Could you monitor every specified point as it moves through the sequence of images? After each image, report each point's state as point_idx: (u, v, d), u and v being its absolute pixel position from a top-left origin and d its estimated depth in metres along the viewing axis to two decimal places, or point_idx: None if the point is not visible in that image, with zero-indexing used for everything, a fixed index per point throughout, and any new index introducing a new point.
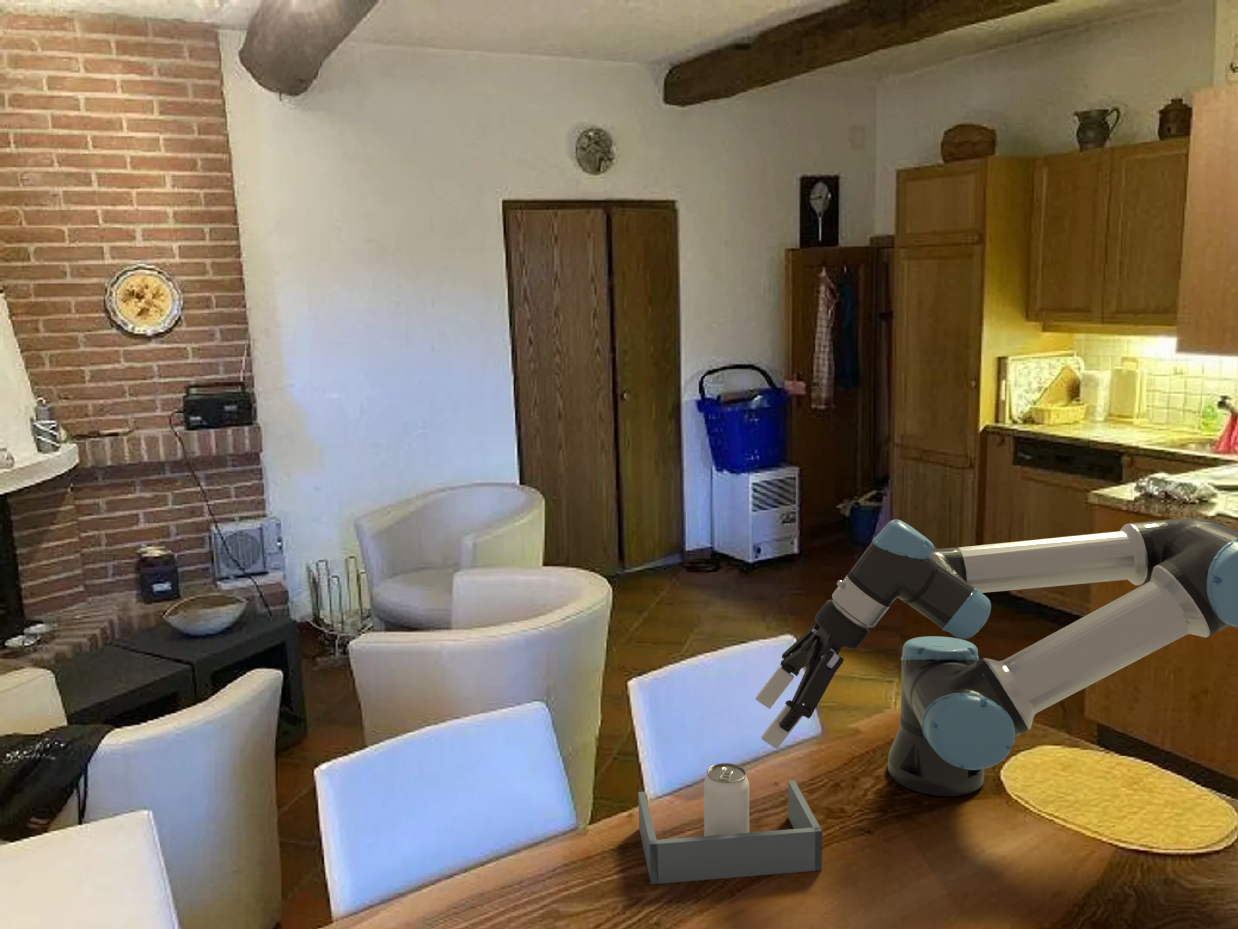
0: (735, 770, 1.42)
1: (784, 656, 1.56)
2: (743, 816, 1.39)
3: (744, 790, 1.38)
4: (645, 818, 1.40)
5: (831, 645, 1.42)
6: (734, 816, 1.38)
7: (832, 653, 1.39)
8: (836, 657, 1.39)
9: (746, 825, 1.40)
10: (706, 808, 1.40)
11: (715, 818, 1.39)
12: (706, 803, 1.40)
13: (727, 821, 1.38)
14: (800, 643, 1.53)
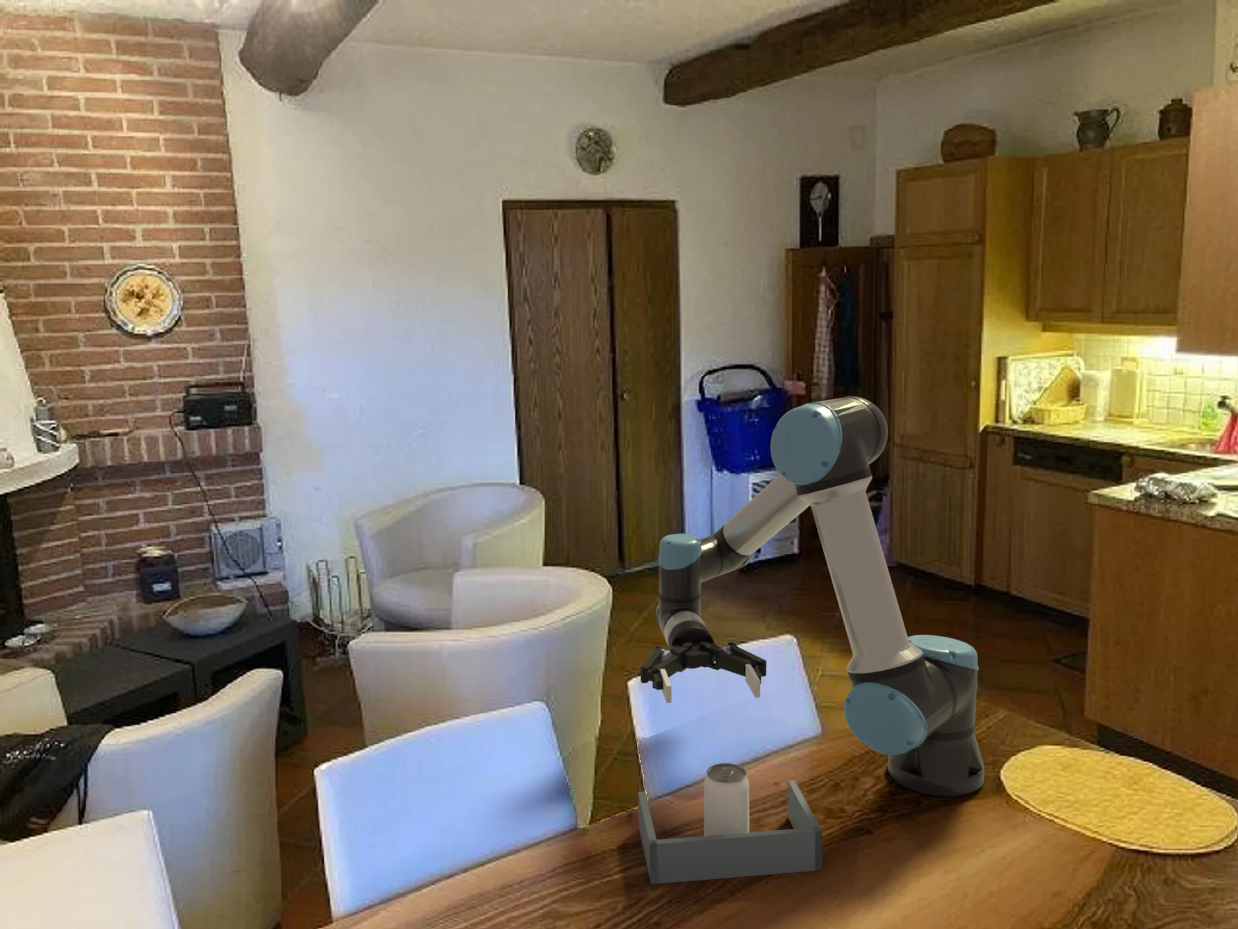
0: (735, 770, 1.42)
1: None
2: (743, 816, 1.39)
3: (744, 790, 1.38)
4: (645, 818, 1.40)
5: None
6: (734, 816, 1.38)
7: None
8: None
9: (746, 825, 1.40)
10: (706, 809, 1.40)
11: (715, 818, 1.39)
12: (706, 803, 1.40)
13: (727, 821, 1.38)
14: None
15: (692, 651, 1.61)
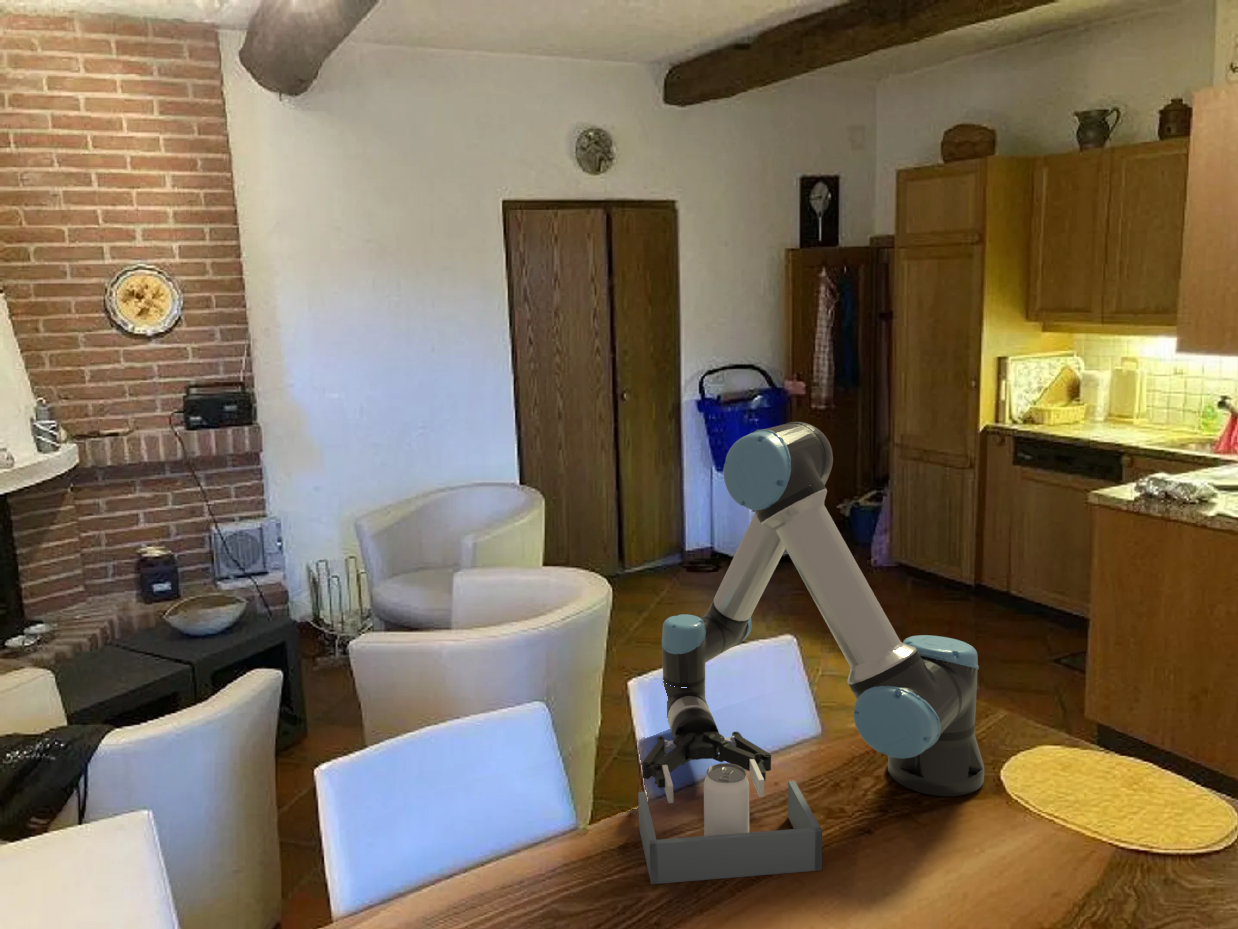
0: (735, 770, 1.42)
1: None
2: (743, 816, 1.39)
3: (744, 790, 1.38)
4: (645, 818, 1.40)
5: None
6: (734, 816, 1.38)
7: None
8: None
9: (746, 825, 1.40)
10: (706, 809, 1.40)
11: (715, 818, 1.39)
12: (706, 803, 1.40)
13: (727, 821, 1.38)
14: None
15: (695, 742, 1.58)
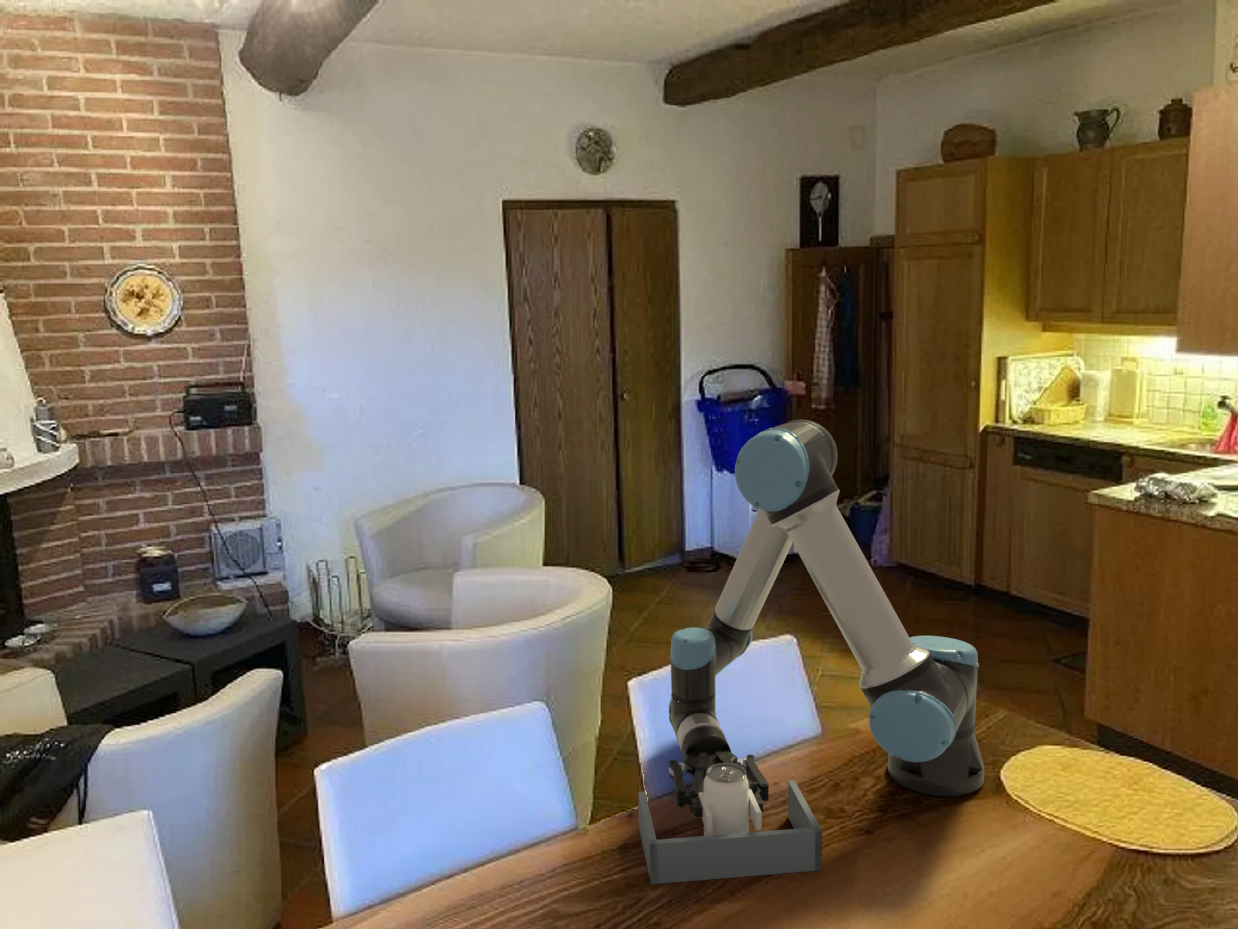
0: (735, 770, 1.42)
1: None
2: (743, 816, 1.39)
3: (743, 790, 1.38)
4: (645, 818, 1.40)
5: None
6: (734, 816, 1.38)
7: (669, 772, 1.52)
8: None
9: (746, 825, 1.40)
10: None
11: (715, 818, 1.39)
12: None
13: (727, 821, 1.38)
14: None
15: (707, 763, 1.51)
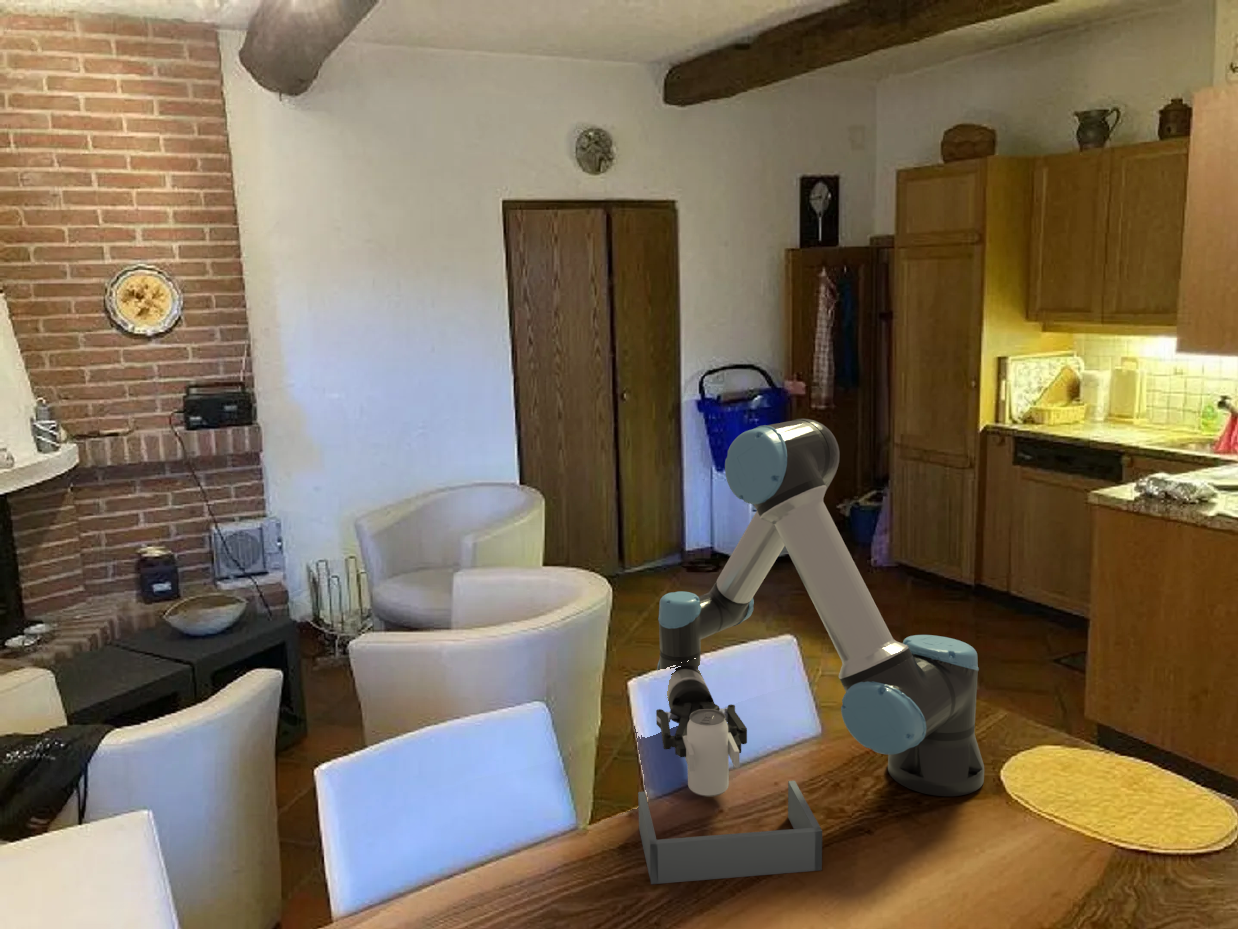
0: (716, 715, 1.55)
1: None
2: (723, 756, 1.52)
3: (723, 732, 1.52)
4: (645, 818, 1.40)
5: None
6: (714, 755, 1.51)
7: (656, 720, 1.66)
8: (656, 717, 1.65)
9: (726, 765, 1.53)
10: None
11: (697, 757, 1.52)
12: None
13: (708, 760, 1.52)
14: None
15: (692, 711, 1.64)
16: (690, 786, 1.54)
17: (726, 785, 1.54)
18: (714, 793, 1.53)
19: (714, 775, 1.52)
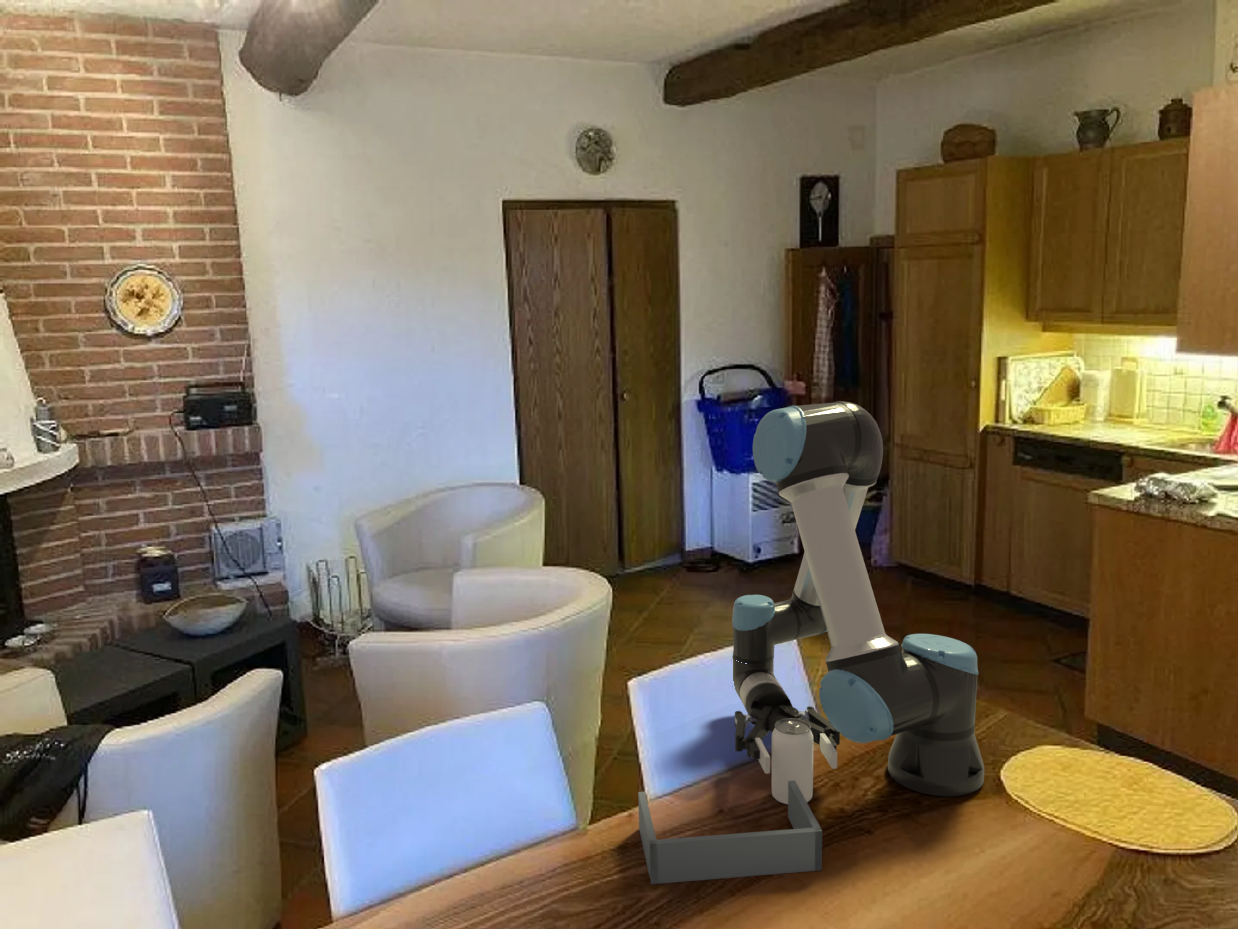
0: (800, 724, 1.55)
1: None
2: (809, 765, 1.53)
3: (809, 741, 1.52)
4: (645, 818, 1.40)
5: None
6: (801, 764, 1.52)
7: (735, 722, 1.67)
8: None
9: (811, 774, 1.54)
10: (774, 759, 1.54)
11: (783, 766, 1.53)
12: (774, 753, 1.54)
13: (795, 769, 1.52)
14: None
15: (772, 715, 1.65)
16: (775, 795, 1.55)
17: (811, 794, 1.55)
18: None
19: (800, 784, 1.53)
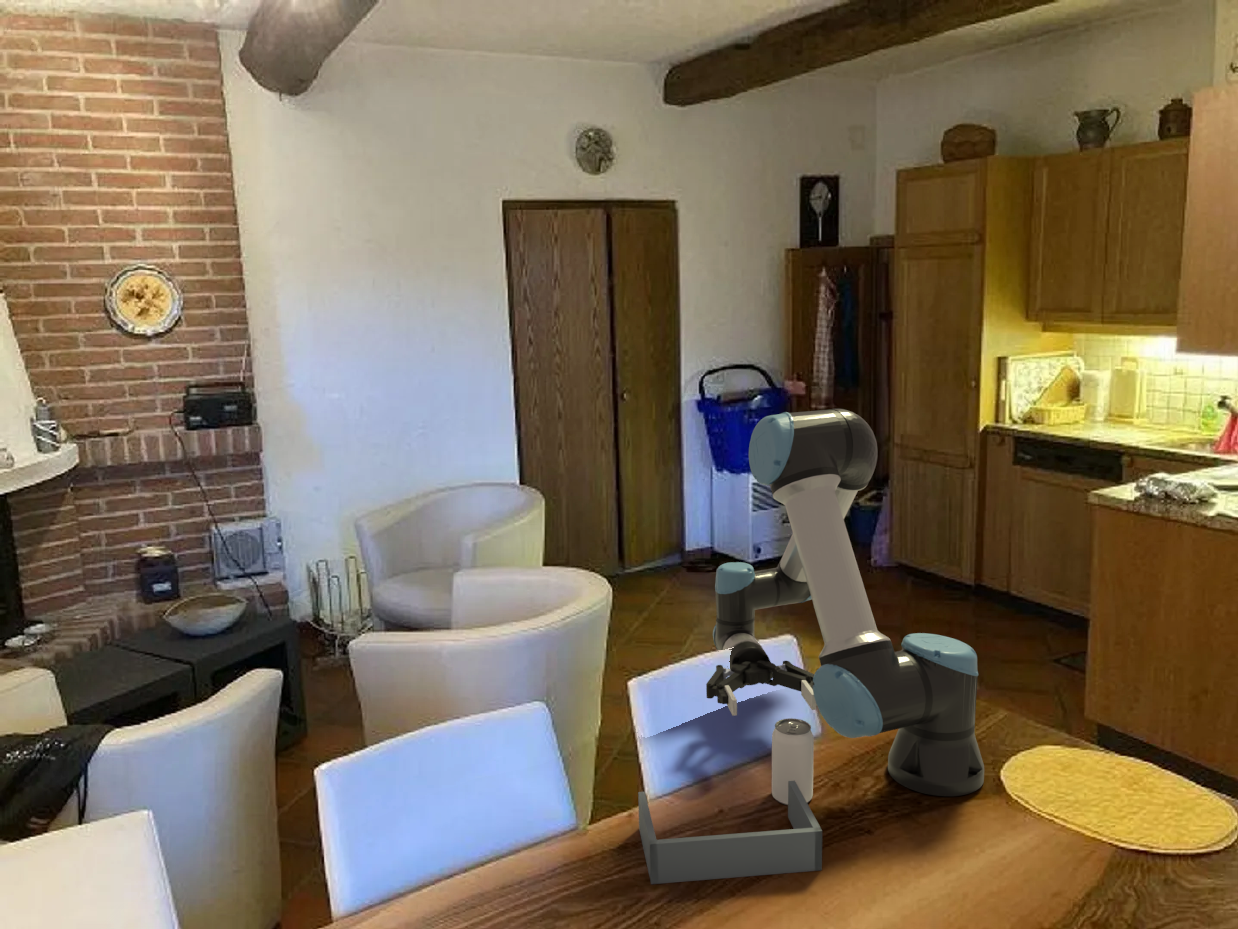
0: (800, 724, 1.55)
1: None
2: (809, 765, 1.53)
3: (809, 742, 1.52)
4: (645, 818, 1.40)
5: None
6: (801, 765, 1.52)
7: None
8: None
9: (811, 774, 1.54)
10: (774, 759, 1.54)
11: (783, 767, 1.53)
12: (774, 754, 1.54)
13: (795, 769, 1.52)
14: None
15: (751, 669, 1.78)
16: (775, 795, 1.55)
17: (811, 794, 1.55)
18: None
19: (800, 785, 1.53)
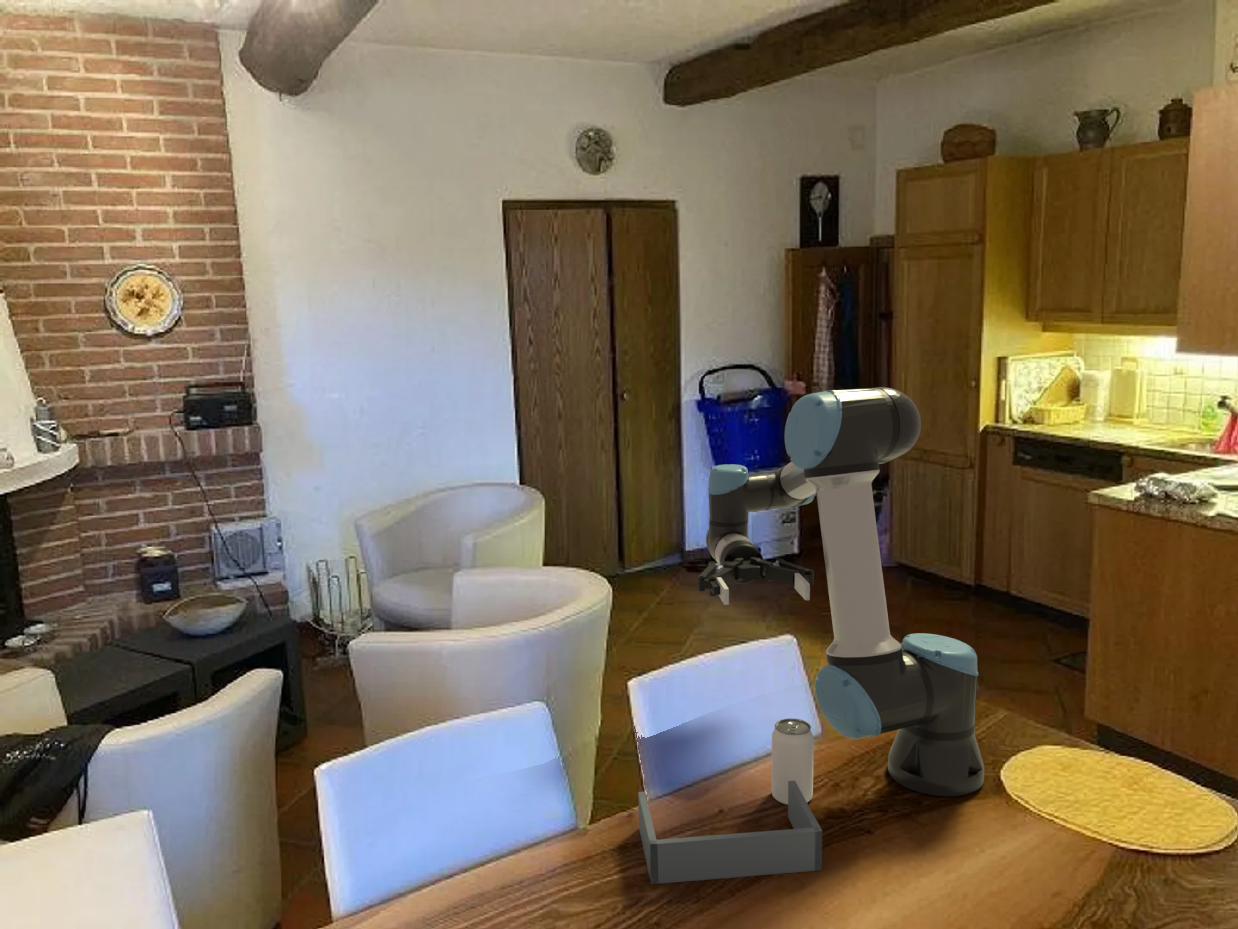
0: (800, 724, 1.55)
1: None
2: (809, 765, 1.53)
3: (809, 741, 1.52)
4: (645, 818, 1.40)
5: None
6: (801, 765, 1.52)
7: None
8: None
9: (811, 774, 1.54)
10: (774, 759, 1.54)
11: (783, 767, 1.53)
12: (774, 754, 1.54)
13: (795, 769, 1.52)
14: None
15: (744, 565, 1.75)
16: (775, 795, 1.55)
17: (811, 794, 1.55)
18: None
19: (800, 785, 1.53)
